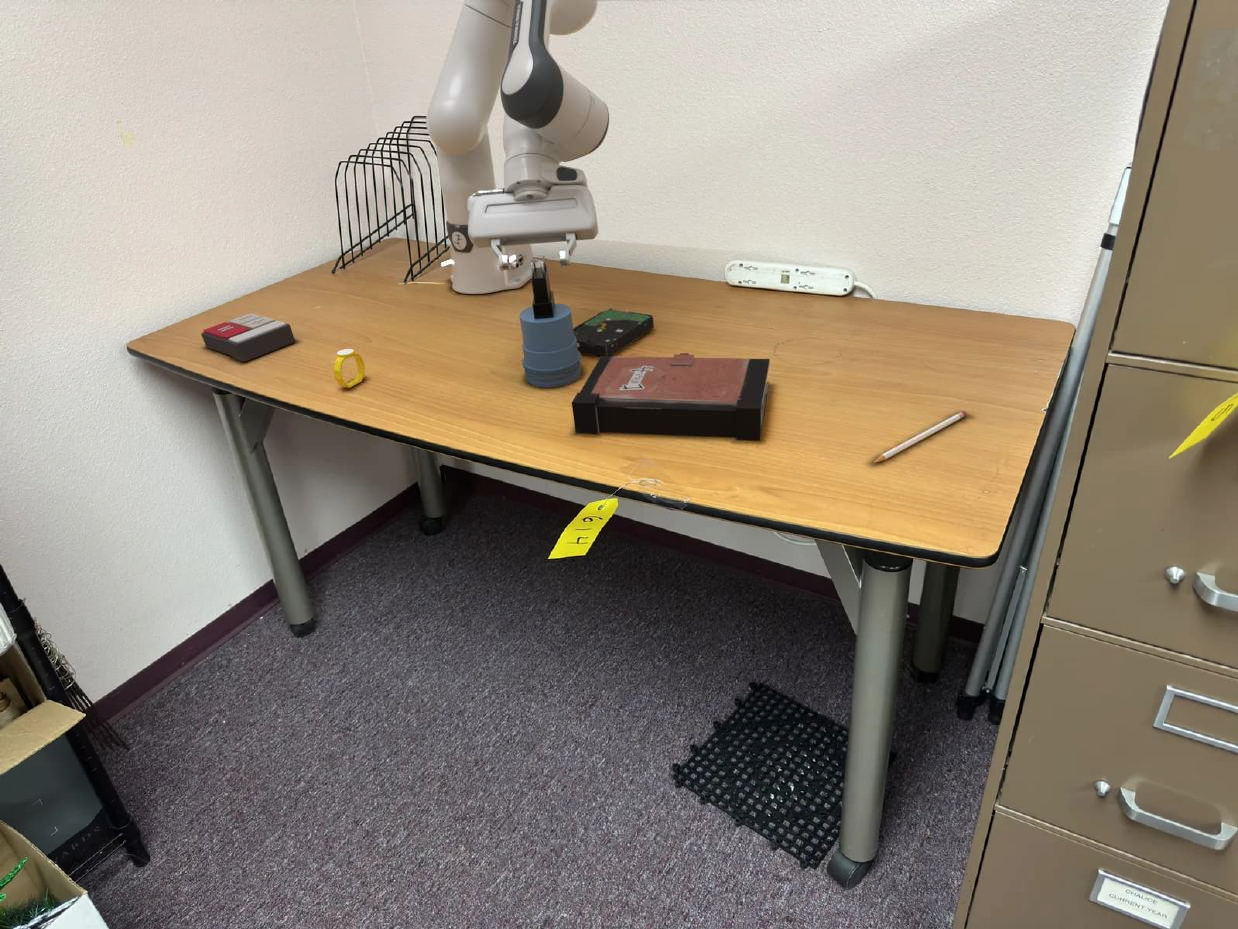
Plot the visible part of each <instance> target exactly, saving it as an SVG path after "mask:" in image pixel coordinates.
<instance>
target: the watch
mask: <svg viewBox="0 0 1238 929" xmlns="http://www.w3.org/2000/svg"><path fill="white" fill-rule="evenodd" d="M336 356H337V358H336V359H335V361H334V366H333V374H334V379H335V381H336V382H337V384H338V385H339V386H341V387H343V388H348V389H351V388H352V387H355V385H358V384H359V383H361V382H362V381H363V379H364V376H365V369H366V367H365V362H364V359H363V357H362V356H361V354H360V353H358V352H356V351H355V350H354V349H353V348H344V349H340V350H338V351H337V352H336ZM352 357H353V358H354V360H355V362H356V365H357V370H356V374H355V377H354V379H353V380H351V381H349V382H347V383H346V381H345V380H344V378H343V374H342V368H343V363H344V362H345V360H346V359H349V358H352Z"/></svg>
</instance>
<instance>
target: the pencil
mask: <svg viewBox="0 0 1238 929" xmlns="http://www.w3.org/2000/svg"><path fill="white" fill-rule="evenodd" d="M967 414H968V413H967V411H965V410H962V411H960V412H958V413H955V415H953V416H950V417H949V418H947V419H945V420H943V421H941V422H940V423H938V424H936V425H934V426H932V427H930V428H929V429H926V430H925V431H922V432H921V433H919V434H916V436H914V437H912V438H910V439H908V440H906V441H904V442H902V443H901V444H899V445H897V446H895V447H893V448H891V449H889V450H888V451H886V452H884V453H882V454H881V455H879V456H878V458H876V459H875V460H874V463H879V462H883V461H886V460H887V459H889V458H892V457H893V456H895V455H896V454H899V453H900V452H902V451H904V450H907V449H908V448H909V447H911V446H914V445H915V444H917V443H919V442H920V441H922V440H924V439H926V438H928V437H930V436H932V435H933V434H936V433H937V432H939V431H941V430H943V429H945V428H946V427H948V426H950V425H952V424H954V423H955V422H957V421H959V420H961V419H963V418H965V417H966V416H967Z"/></svg>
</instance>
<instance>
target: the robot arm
mask: <svg viewBox="0 0 1238 929" xmlns="http://www.w3.org/2000/svg"><path fill="white" fill-rule="evenodd" d="M598 4H599V0H464V1H463V4H462V7H461V10H460V13H459V16H458V19H457V22H456V25H455V29H454V32H453V34H452V37H451V41H450V43H449V47H448V49H447V53H446V56H445V59H444V62H443V65H442V68H441V70H440V73H439V76H438V79H437V81H436V85H435V87H434V91H433V94H432V97H431V99H430V103H429V106H428V108H427V112H426V117H425V118H426V119H425V124H426V130H427V133H428V135H429V137H430V139H431V141H432V142H433V143H434V145H435V151H436V158H437V159H436V160H437V165H438V166H437V167H438V176H439V184H440V188H441V193H442V199H443V205H444V208H445V209H444V210H445V214H446V221H445V224H446V232H447V238H448V240H449V241H450V244H449V253H450V254H449V255H450V259H449V260H446V261H443V262H441V263H440V264H441V267H445V266H447V265H451V275H450V281H451V283H452V285H451V286H452V287H451V288H452V290H453V291H455V292H457V293H460V294H466V295H482V294H490V293H495V292H500V291H504V290H505V291H506V290H515V289H520V288H521V287H523V286H525V284H526V283H528V282H529V281H530V280H531V278H532V271H531V262H532V258H533V257H534V254H533V253H534V252H533V249H532V246H531V245H537V244H548V243H560V242H566V244H567V245H566V247H565V249H564V250H559V253H558V255H559V264H560V266H561V267H564V266H565V267H566V266H567V267H568V266H571V256H573V253H574V251H575V249H576V248H577V245H578V244H577V241H588V240H594V239H596V237H597V236H598V234H599V224H598V223H599V222H598V217H597V216H598V215H597V211H596V206H595V201H594V198H593V195H592V192H591V190H590V189H589V185H588V184H589V183H588V180H587V177H586V174H585V172H584V170H582V169H580V168H576V167H570V166H566V165H562V164H561V163H567V162H571V161H575V160H577V159H581V158H583V157H585V156H587V155H590V154H592V153H593V152H595V151H597V149H598V148H599V147H600V146H602V144H603V142H604V141H605V138H606V137H607V134H608V130H609V127H610V126H609V125H610V112H609V107H608V105H607V104H606V103H605V102H604V101H603V100H602V99H601V98H600V97H599V96H597V95H596V94H595V93H594V92H593V91H591V89H589V88H588V87H587V86H585V85H584V84H582V83H581V82H580V81H579V80H578V79H576V78H575V77H574V76H573V75H572V74H570V73H569V72H568V71H567V70H565V69H564V68H563V67H562V66H561V65H560V64H559V63H558V62H557V60H556V58H555V57H554V56H553V55H552V53H551V51H550V35H553V36H567V35H568V36H569V35H572V34H575V33H577V32H579V31H581V30H583V29H584V28H585V27H586V26H588V24H589V23H590V22H591V21H592V19H593V18H594V17H595V15H596V13H597V9H598ZM499 93H500V100H501V104H502V108H503V111H504V115H503V124H502V126H503V127H502V144H503V145H502V146H503V151H504V153H505V159H504V160H505V161H504V164H503V187H501V188H497V185H496V178H495V170H494V164H493V157H492V150H491V143H490V136H489V135H490V134H489V128H488V124H489V120H490V118H491V115H492V113H493V109H494V106H495V103H496V101H497V97H498V94H499ZM541 264H542V259H537V258H535V265H536V268H539V267H542V266H541ZM543 266H544V264H543ZM533 268H534V265H533Z"/></svg>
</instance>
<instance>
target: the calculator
mask: <svg viewBox="0 0 1238 929" xmlns="http://www.w3.org/2000/svg"><path fill="white" fill-rule="evenodd" d="M200 335H201V337H202V340H203V342H204V344H205V348H207V349H209V350H210V349H211V350H213V351H216V352H219V353H223V354H226V355H229V356H230V357H231V358H233V360H235V361H239V362H242V363H246V362H248V361H250V360H253V359H255V358H259V357H260V356H263V355H266V354H268V353H270V352H273V351H276V350H279V349H281V348H283V347H285V346H288V345H291V344H294V343H295V342H296V339H295V336H294V333H293V330H292V328H291V324H289V323H287V322H283V321H279V320H275V319H274V318H271V317H268V316H262V315H259V314H255V313H252V312H250V313H246V314H244V315H240V316H238V317H235V318H232V319H230V320H228V322H227V321H224V322H222V323H219V324H218V323H217V324H215V325H213V326H209V327H207V328H205V329H203V332H201V334H200Z"/></svg>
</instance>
